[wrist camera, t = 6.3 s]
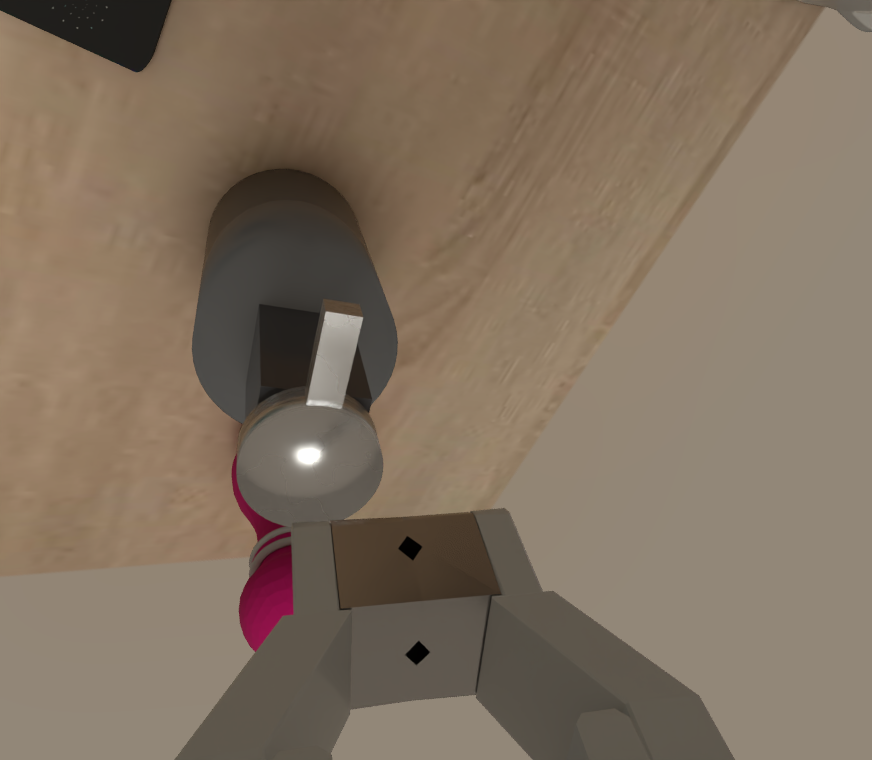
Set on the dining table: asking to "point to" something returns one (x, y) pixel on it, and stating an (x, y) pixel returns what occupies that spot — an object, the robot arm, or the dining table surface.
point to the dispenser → (284, 292)
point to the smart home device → (99, 25)
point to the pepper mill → (265, 575)
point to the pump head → (313, 436)
